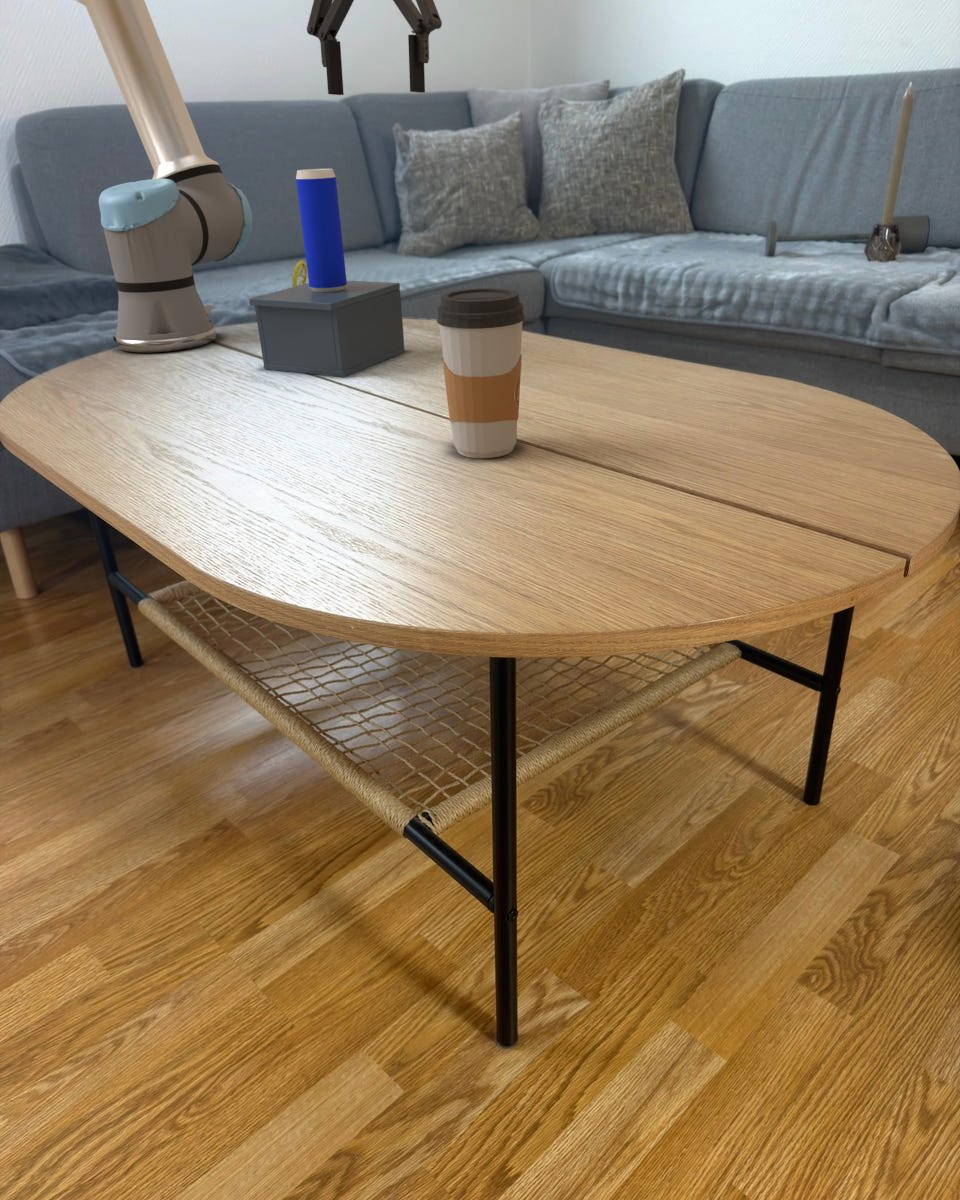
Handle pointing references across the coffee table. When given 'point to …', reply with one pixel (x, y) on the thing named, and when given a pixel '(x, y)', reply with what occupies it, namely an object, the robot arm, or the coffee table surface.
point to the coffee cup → (482, 368)
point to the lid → (324, 296)
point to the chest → (331, 336)
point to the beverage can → (321, 229)
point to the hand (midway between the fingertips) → (375, 93)
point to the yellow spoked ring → (299, 273)
